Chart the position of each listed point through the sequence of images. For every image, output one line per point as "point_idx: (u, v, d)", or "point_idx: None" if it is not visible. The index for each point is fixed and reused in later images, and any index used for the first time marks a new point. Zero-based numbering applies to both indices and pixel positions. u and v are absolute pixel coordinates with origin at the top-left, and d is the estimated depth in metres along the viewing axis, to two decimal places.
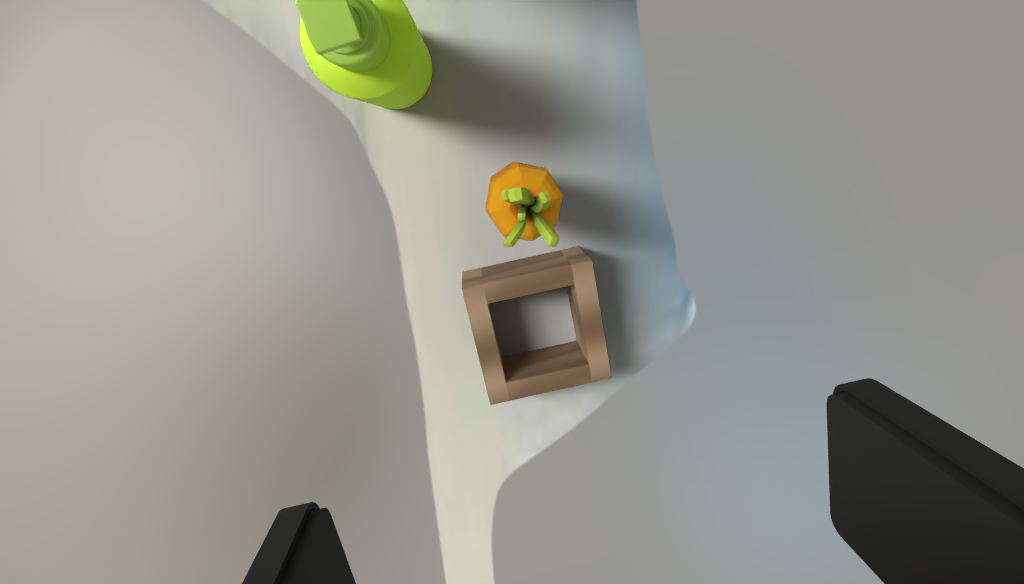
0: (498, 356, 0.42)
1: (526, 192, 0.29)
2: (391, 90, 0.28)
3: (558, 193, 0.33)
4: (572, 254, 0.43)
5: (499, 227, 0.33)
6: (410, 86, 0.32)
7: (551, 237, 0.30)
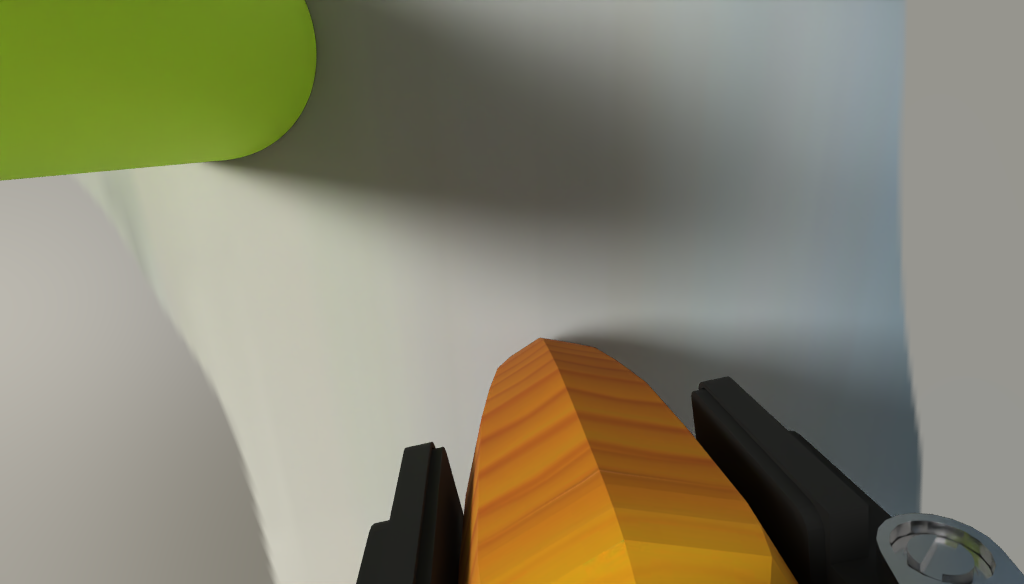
0: None
1: None
2: None
3: None
4: None
5: None
6: (10, 104, 0.06)
7: None
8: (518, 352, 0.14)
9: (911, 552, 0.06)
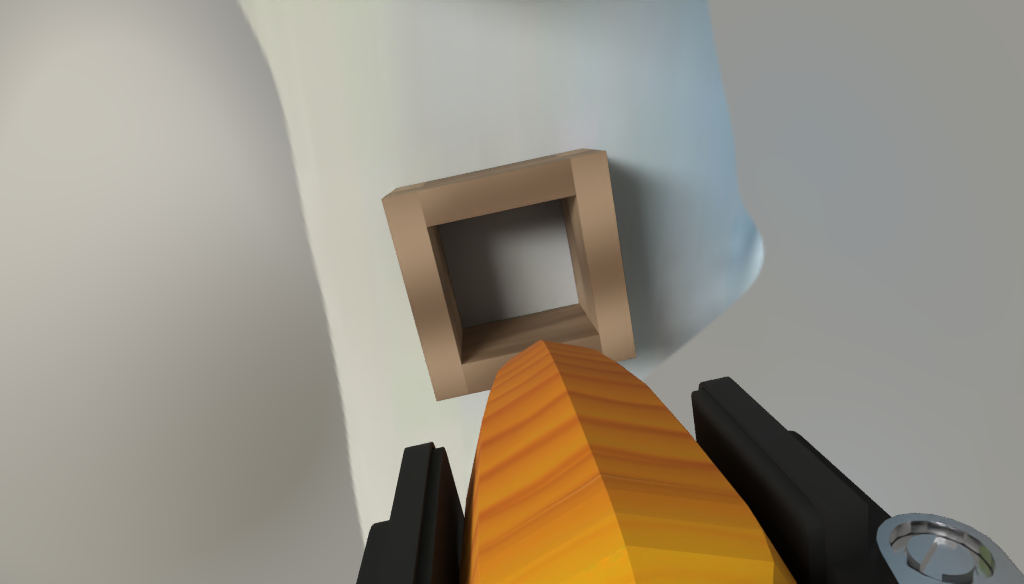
0: (448, 319, 0.25)
1: None
2: None
3: None
4: (572, 153, 0.26)
5: None
6: None
7: None
8: (519, 354, 0.14)
9: (911, 552, 0.06)
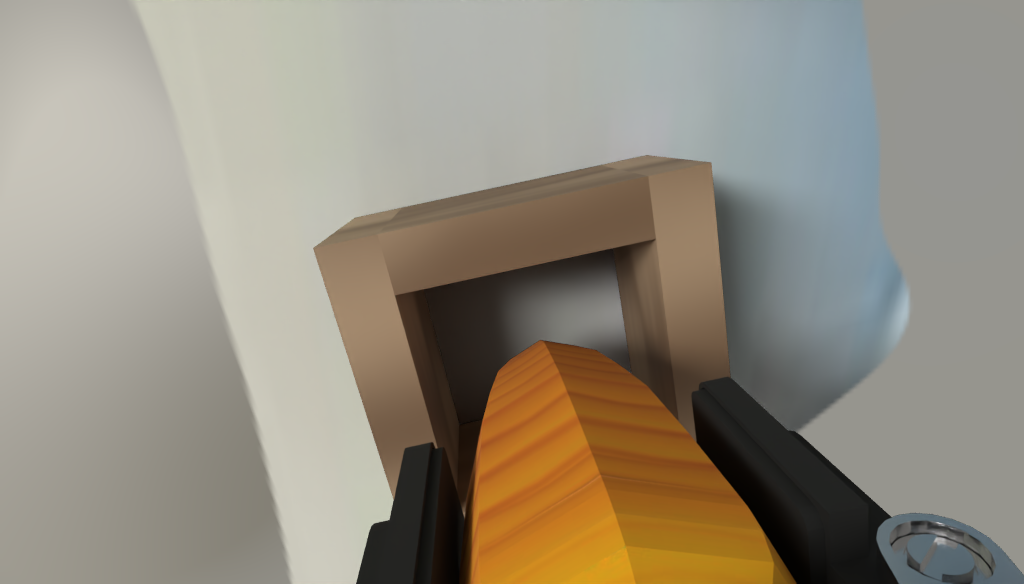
0: None
1: None
2: None
3: None
4: (638, 164, 0.16)
5: None
6: None
7: None
8: (519, 354, 0.14)
9: (911, 552, 0.06)
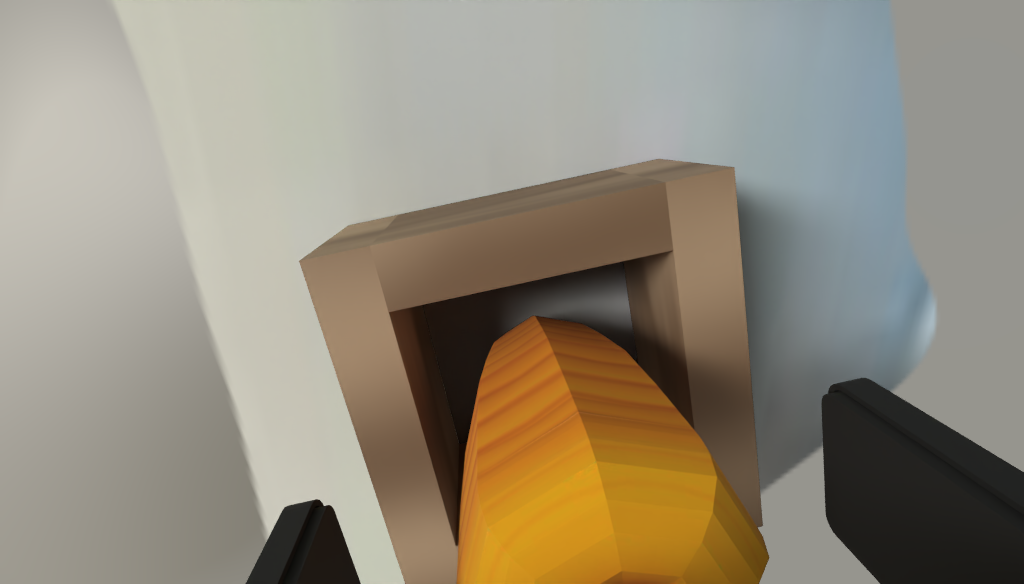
0: (431, 473, 0.14)
1: None
2: None
3: (758, 553, 0.08)
4: (652, 169, 0.15)
5: None
6: None
7: None
8: (512, 329, 0.16)
9: None
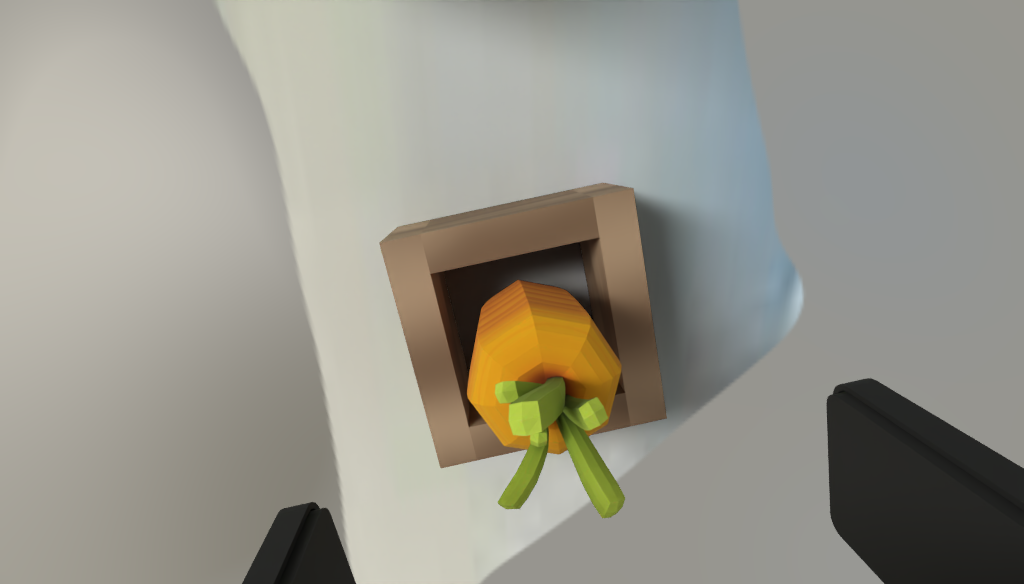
0: (453, 376, 0.22)
1: (551, 404, 0.13)
2: None
3: (614, 367, 0.16)
4: (593, 189, 0.23)
5: (493, 430, 0.16)
6: None
7: (608, 501, 0.13)
8: None
9: None
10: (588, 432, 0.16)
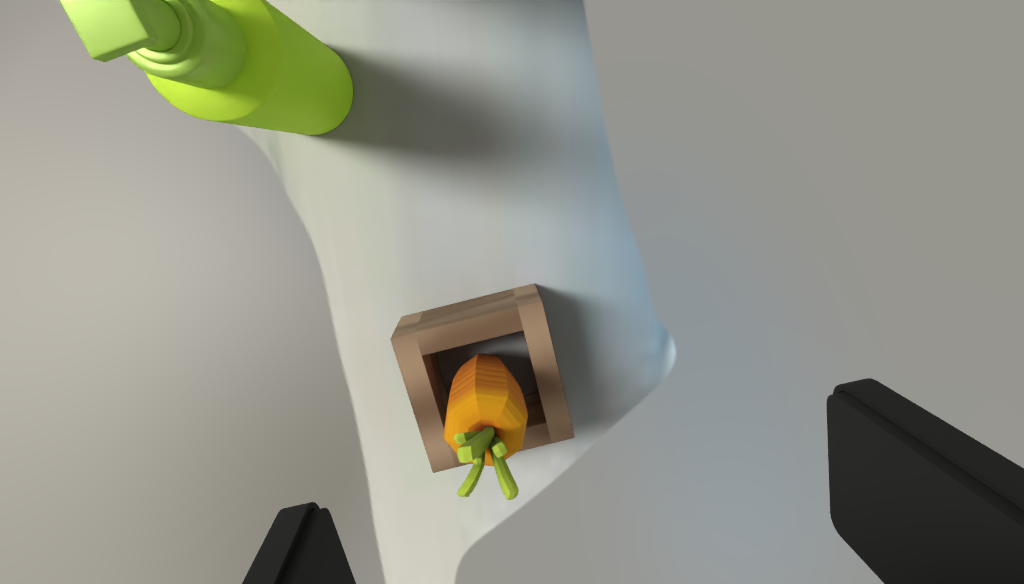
0: (438, 416, 0.36)
1: (478, 446, 0.26)
2: (256, 109, 0.23)
3: (521, 418, 0.30)
4: (523, 294, 0.37)
5: (458, 454, 0.30)
6: (298, 105, 0.27)
7: (509, 491, 0.27)
8: None
9: None
10: (509, 454, 0.30)
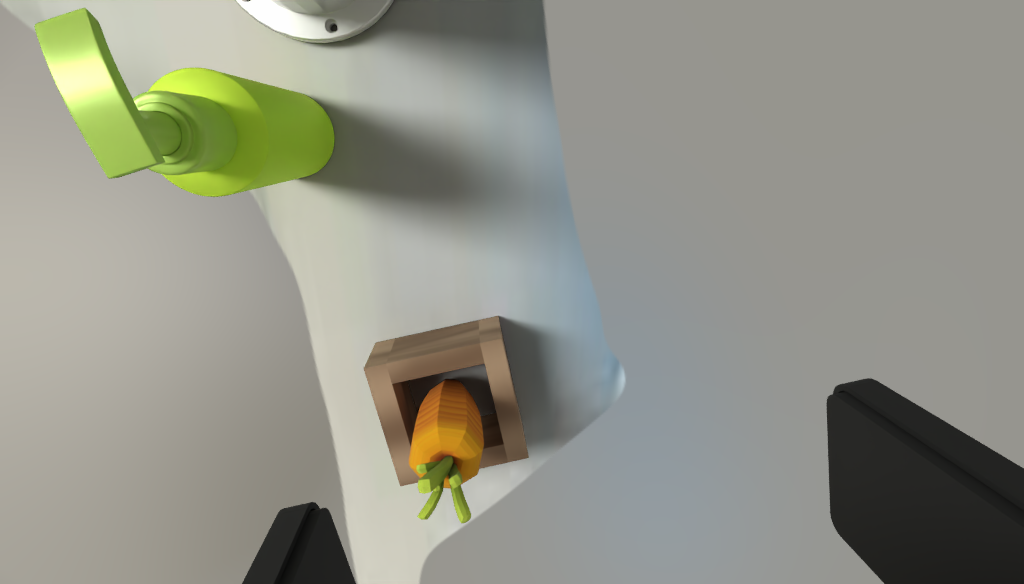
0: (406, 437, 0.40)
1: (437, 478, 0.30)
2: (245, 187, 0.26)
3: (477, 449, 0.34)
4: (487, 327, 0.41)
5: None
6: (282, 172, 0.30)
7: (462, 516, 0.31)
8: (438, 384, 0.42)
9: None
10: (466, 479, 0.34)
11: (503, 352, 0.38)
